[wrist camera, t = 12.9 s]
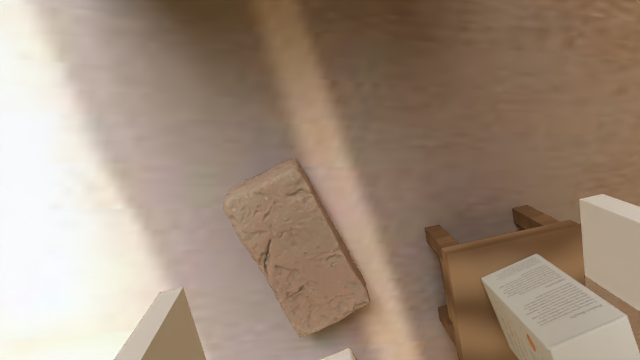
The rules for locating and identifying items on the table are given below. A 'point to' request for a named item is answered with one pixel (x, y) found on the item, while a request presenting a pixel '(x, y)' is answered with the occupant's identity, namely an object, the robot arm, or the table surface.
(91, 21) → the table surface
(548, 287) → the small box
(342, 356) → the block with arch cutout
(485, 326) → the brown flat-topped fixture
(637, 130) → the table surface
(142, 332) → the robot arm
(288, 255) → the brick
